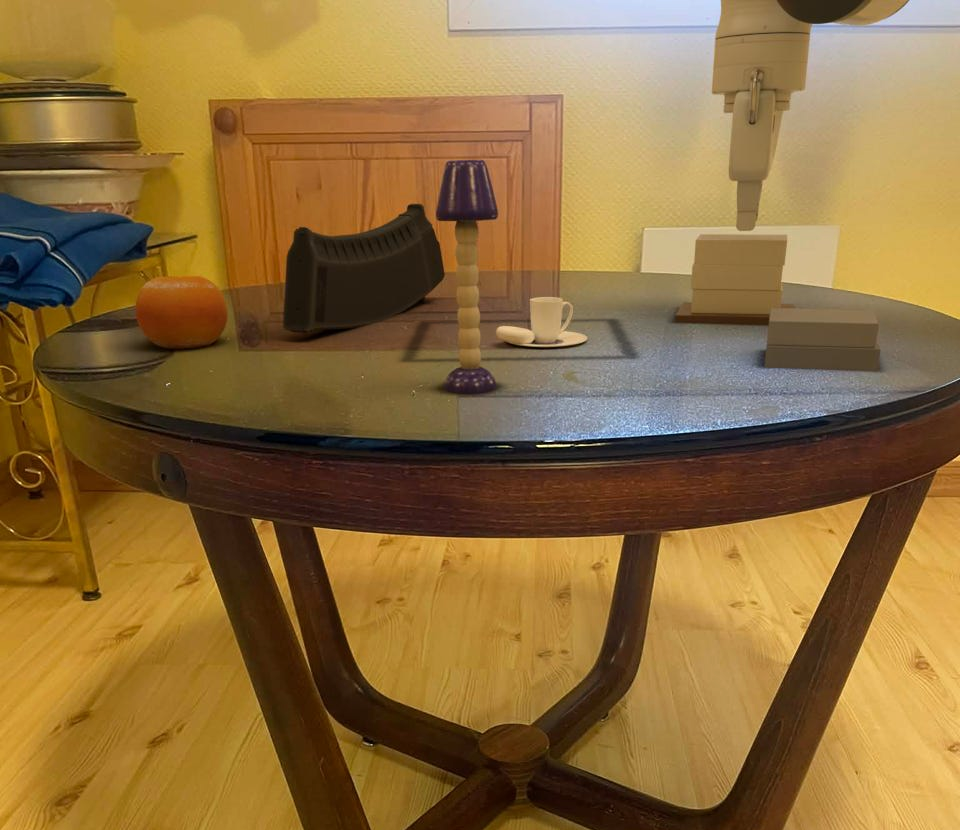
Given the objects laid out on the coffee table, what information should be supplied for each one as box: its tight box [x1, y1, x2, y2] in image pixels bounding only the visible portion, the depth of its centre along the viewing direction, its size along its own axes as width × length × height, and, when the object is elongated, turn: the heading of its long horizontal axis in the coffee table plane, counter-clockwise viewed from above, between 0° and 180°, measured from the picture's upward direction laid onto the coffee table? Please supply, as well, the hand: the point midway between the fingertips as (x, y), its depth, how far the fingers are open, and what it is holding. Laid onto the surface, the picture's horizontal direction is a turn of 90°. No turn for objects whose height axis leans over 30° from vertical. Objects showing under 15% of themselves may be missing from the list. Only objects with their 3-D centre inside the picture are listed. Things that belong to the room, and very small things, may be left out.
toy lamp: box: [435, 159, 499, 395], centre depth 77 cm, size 5×5×17 cm
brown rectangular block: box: [764, 307, 881, 372], centre depth 86 cm, size 9×7×4 cm
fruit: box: [134, 275, 228, 350], centre depth 99 cm, size 8×8×8 cm
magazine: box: [282, 203, 446, 334], centre depth 109 cm, size 17×3×30 cm
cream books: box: [674, 263, 795, 326], centre depth 107 cm, size 12×9×6 cm
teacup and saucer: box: [495, 296, 588, 348], centre depth 97 cm, size 9×8×4 cm
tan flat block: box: [693, 233, 788, 267], centre depth 105 cm, size 9×6×2 cm, turn 75°
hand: (747, 226), depth 104 cm, fingers open, 8 cm apart
